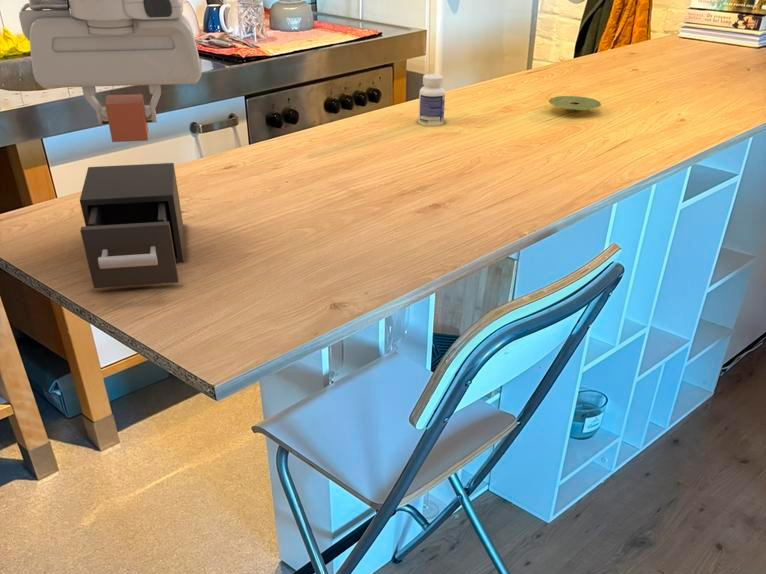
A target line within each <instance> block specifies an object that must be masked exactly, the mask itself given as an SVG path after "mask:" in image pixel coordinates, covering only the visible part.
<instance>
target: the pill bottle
mask: <svg viewBox="0 0 766 574" xmlns="http://www.w3.org/2000/svg"><path fill="white" fill-rule="evenodd" d="M443 79H444V78H443V75H441V74H439V73H428V74H424V75H423V76H422V85H423V86H422V87H420V89H419V96H418V124H419V125H422V126H426V127H427V126H428V127H437V126H441V125H443V124H444V120H445V105H446V104H445V103H446V102H445V101H446V90H445V88H444V87H442V85H443V81H444V80H443Z"/></svg>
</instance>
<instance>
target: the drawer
mask: <svg viewBox="0 0 766 574" xmlns="http://www.w3.org/2000/svg"><path fill="white" fill-rule="evenodd" d="M79 230H80V235H81V240H82V244H83V249H84V252H85V256H86V261H87V265H88V268H89V273H90V276H91V281H92V286H93V289H105V288H120V287H132V286H133V287H134V286H145V285H146V286H147V285H160V284H161V285H162V284H174V283H175V284H176V283H179V273H178V267H177V263H176V261H175V254H174V248H173V239H172V233H171V227H170V221H169V215H168V208H167V202H166V201H160V202H142V203H124V204H106V205H92V209H91V214H90V218H89V223H88V226H85V225H84V226H81V227H80V229H79Z"/></svg>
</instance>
